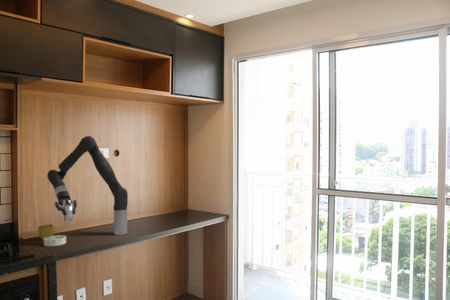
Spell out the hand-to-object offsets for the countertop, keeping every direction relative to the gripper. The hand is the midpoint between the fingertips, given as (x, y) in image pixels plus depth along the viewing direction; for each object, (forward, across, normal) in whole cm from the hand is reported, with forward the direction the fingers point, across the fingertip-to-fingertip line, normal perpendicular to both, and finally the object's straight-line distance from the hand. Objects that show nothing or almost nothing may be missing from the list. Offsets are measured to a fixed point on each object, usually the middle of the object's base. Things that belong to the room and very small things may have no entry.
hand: (69, 214), depth 236 cm
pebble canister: (+2, 0, +4) cm, 5 cm away
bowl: (+10, -7, +17) cm, 21 cm away
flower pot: (-3, -6, +30) cm, 31 cm away
